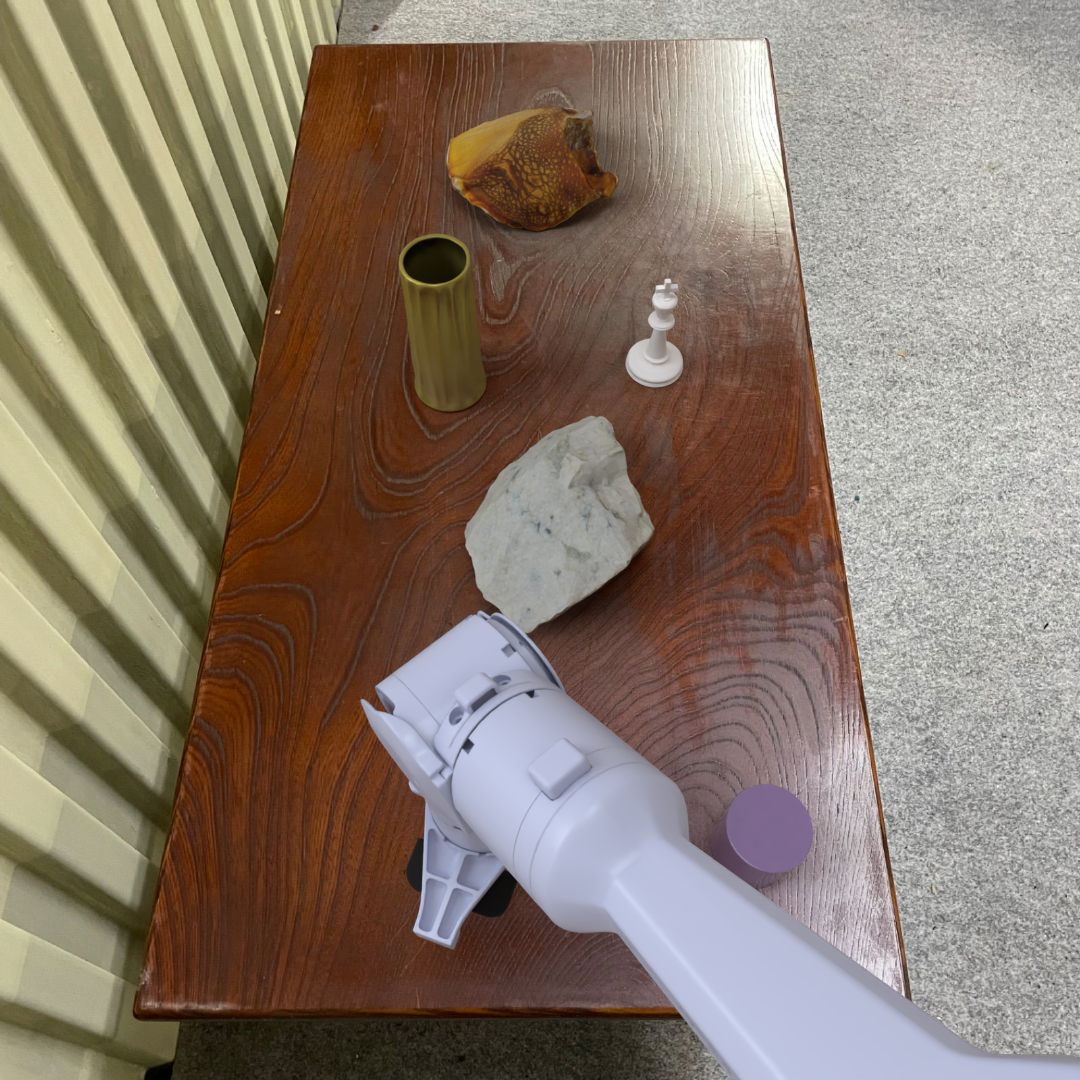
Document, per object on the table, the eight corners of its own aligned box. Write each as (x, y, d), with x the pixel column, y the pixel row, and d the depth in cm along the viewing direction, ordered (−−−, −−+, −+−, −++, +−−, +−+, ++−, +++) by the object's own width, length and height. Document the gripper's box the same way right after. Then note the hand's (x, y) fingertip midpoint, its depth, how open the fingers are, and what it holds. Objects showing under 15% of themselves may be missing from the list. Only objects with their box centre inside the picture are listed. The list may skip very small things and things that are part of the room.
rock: (416, 515, 74) (403, 458, 67) (581, 424, 78) (586, 361, 71) (523, 667, 67) (521, 622, 60) (696, 558, 72) (713, 505, 65)
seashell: (428, 193, 85) (450, 65, 90) (447, 246, 92) (467, 125, 97) (612, 191, 82) (624, 59, 87) (617, 246, 89) (629, 121, 94)
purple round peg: (776, 902, 60) (799, 887, 55) (699, 867, 61) (714, 850, 56) (799, 826, 62) (824, 805, 57) (725, 794, 63) (741, 770, 58)
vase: (475, 348, 82) (463, 220, 69) (496, 402, 79) (487, 279, 66) (407, 366, 81) (382, 239, 68) (425, 421, 78) (403, 299, 65)
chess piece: (621, 345, 82) (631, 260, 73) (677, 340, 82) (693, 255, 73) (630, 390, 79) (641, 307, 71) (687, 385, 80) (706, 302, 71)
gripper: (458, 613, 48) (474, 700, 60) (337, 896, 42) (382, 931, 53) (589, 655, 47) (579, 736, 59) (486, 952, 40) (498, 976, 52)
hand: (493, 831), depth 56 cm, fingers closed on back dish, 5 cm apart
